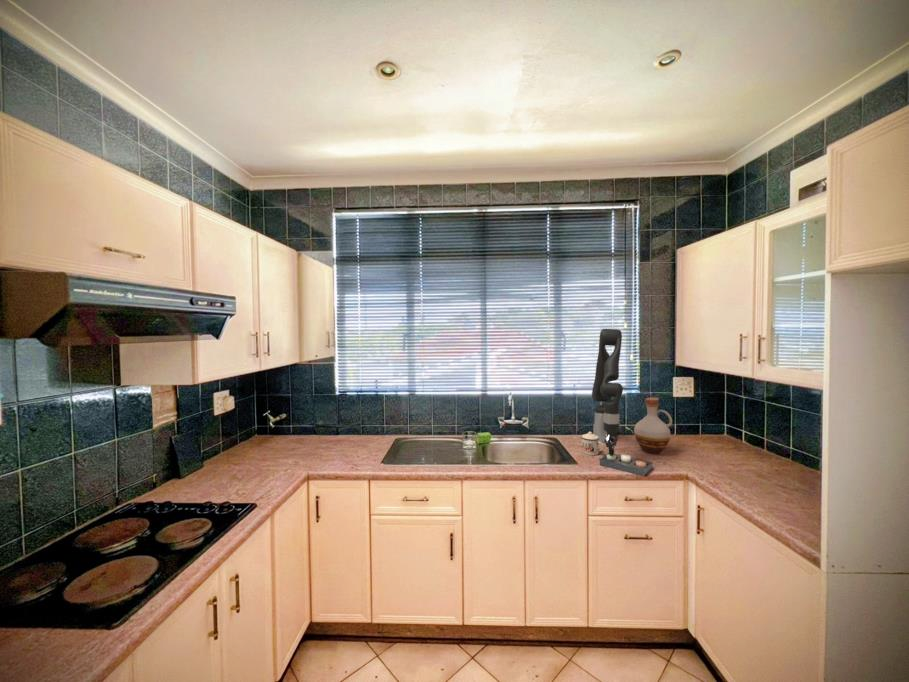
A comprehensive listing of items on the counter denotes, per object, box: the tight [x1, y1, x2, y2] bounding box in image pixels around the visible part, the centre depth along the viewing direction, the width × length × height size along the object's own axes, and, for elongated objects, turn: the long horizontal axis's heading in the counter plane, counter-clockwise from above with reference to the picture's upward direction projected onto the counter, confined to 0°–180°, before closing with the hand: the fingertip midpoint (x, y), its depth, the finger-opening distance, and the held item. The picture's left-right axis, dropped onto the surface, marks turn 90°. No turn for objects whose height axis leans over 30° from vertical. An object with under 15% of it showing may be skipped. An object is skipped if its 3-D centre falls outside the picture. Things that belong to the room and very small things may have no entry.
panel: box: [599, 452, 654, 477], centre depth 179 cm, size 21×13×3 cm, turn 46°
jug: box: [633, 397, 673, 455], centre depth 200 cm, size 20×18×30 cm
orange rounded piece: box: [636, 461, 646, 467], centre depth 174 cm, size 4×4×4 cm
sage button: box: [606, 453, 616, 460], centre depth 184 cm, size 4×4×4 cm
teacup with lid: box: [581, 431, 605, 456], centre depth 199 cm, size 12×9×12 cm
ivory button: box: [620, 453, 632, 464], centre depth 179 cm, size 4×4×4 cm
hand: (611, 454), depth 184 cm, fingers closed
